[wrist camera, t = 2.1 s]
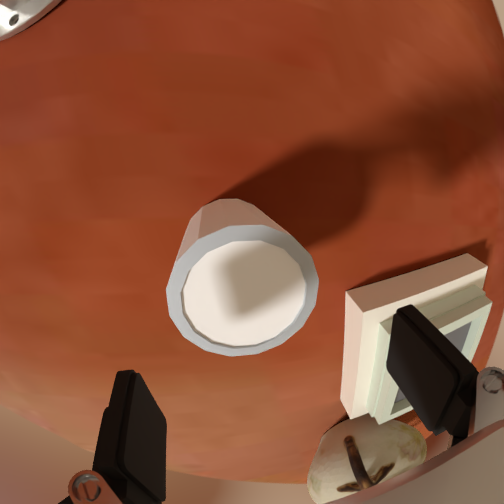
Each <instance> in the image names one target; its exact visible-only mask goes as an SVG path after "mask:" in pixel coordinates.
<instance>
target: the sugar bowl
mask: <svg viewBox="0 0 504 504" xmlns="http://www.w3.org/2000/svg"><path fill="white" fill-rule="evenodd" d="M426 453H427V446H426V442H425V440H424V437H423V436H422V434H421V433H420V432H419V431H418V430H417V429H415V428H414V427H412V426H410V425H408V424H406V423H403V422H400V421H397V420H393V419H391V420H389V421H387V422H384V423H382V424H380V425H379V424H378V422H377V420H376V419H375V417H371V415H370V414H369V413H367V414H364V415H362V416H359V417H356V418H354V419H350V418H349V419H347V420H345V421H343V422H341V423H339V424H337V425H336V426H334V427H332V428H331V429H329V430H328V431H327V432H326V433H325V434H324V435H323V436H322V438H321V440H320V444H319V447H318V450H317V452H316V454H315V456H314V459H313V461H312V464H311V466H310V469H309V473H308V478H307V488H308V491H309V494H310V496H311V497H312V499H313V500H314V501H315V502H316V503H317V504H324V503H327V502H330V501H334V500H337V499H340V498H343V497H346V496H348V495H351V494H354V493H357V492H359V491H362V490H365V489H367V488H370V487H372V486H375V485H377V484H380V483H382V482H384V481H387V480H389V479H391V478H393V477H396V476H398V475H400V474H402V473H404V472H406V471H408V470H410V469H412V468H414V467H416V466H418V465H420V464H422V463H424V461H425V458H426Z"/></svg>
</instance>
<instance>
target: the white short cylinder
mask: <svg viewBox="0 0 504 504" xmlns="http://www.w3.org/2000/svg"><path fill="white" fill-rule="evenodd" d="M318 284H319V279H318V275H317V272H316V269H315V266H314V262H313V259H312V256H311V255H310V254H309V253H308V252H307V251H306V250H305V249H304V248H303V246H302V245H301V244H300V243H299V242H298V241H297V240H296V239H295V238H294V237H293V236H292V235H291V234H289V233H288V232H287V231H286V230H284V229H283V228H282V227H281V226H279V225H278V224H277V223H276V222H274V221H273V220H272V219H271V218H269V217H268V216H267V215H266V214H264V213H263V212H262V211H261V210H259V209H258V208H257V207H256V206H254V205H253V204H250V203H247V202H245V201H242V200H240V199H218V200H216V201H214V202H212V203H209V204H207V205H205V206H203V207H202V208H201V209H200V210H199V211H198V212H197V213H196V214H195V215H194V216H193V217H192V218H191V219H190V222H189V224H188V227H187V230H186V232H185V235H184V238H183V241H182V243H181V246H180V249H179V252H178V255H177V258H176V261H175V264H174V267H173V270H172V273H171V276H170V279H169V282H168V285H167V288H166V293H167V301H168V308H169V316H170V317H171V319H172V320H173V322H174V323H175V325H176V326H177V328H178V329H179V331H180V332H181V334H182V335H183V337H185V338H186V339H188V340H189V341H191V342H192V343H194V344H196V345H197V346H199V347H200V348H202V349H203V350H205V351H209V352H213V353H218V354H222V355H227V356H241V355H251V354H258V353H261V352H263V351H266V350H268V349H271V348H273V347H276V346H278V345H280V344H282V343H284V342H285V341H286V340H287V339H288V338H290V337H291V336H292V335H293V334H294V333H296V332H297V331H298V330H299V329H300V328H302V326H303V325H304V323H305V321H306V320H307V318H308V316H309V315H310V313H311V311H312V310H313V308H314V306H315V304H316V297H317V290H318Z"/></svg>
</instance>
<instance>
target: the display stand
mask: <svg viewBox="0 0 504 504" xmlns="http://www.w3.org/2000/svg"><path fill="white" fill-rule="evenodd" d="M487 267H488V266H487V265H485V264H484V263H482V262H481V261H479V260H478V259H476V258H475V257H473V256H471V255H470V254H468V253H466V254H463V255H460V256H457V257H454V258H451V259H449V260H446V261H443V262H440V263H437V264H434V265H431V266H428V267H425V268H421V269H418V270H415V271H412V272H409V273H406V274H402V275H399V276H396V277H393V278H389V279H386V280H383V281H379V282H376V283H373V284H369V285H366V286H362V287H359V288H355V289H352V290H348V291H346V298H345V334H344V355H343V371H342V384H341V396H340V399H341V401H342V403H343V405H344V407H345V409H346V411H347V413H348V415H349V417H350V419H354V418H356V417H359V416H362V415H364V414H367V413H369V414H370V415H371V417H375V419H376V420H377V422H378V424H379V425H380V424H382V423H384V422H387V421H389V420H391V419H393V418H396V417H398V416H400V415H402V414H404V413H406V412H408V411H410V410H413V407H412V406H411V404H410V403H409V402H408V400H407V399H406V397H405V396H404V394H403V393H402V391H401V390H400V388H399V387H398V386H397V384H396V383H395V381H394V380H393V378H392V377H391V375H390V374H389V373H388V371H387V368H386V361H387V355H388V349H389V342H390V335H391V328H392V320H393V315H394V314H395V313H396V310H397V309H398V308H401V307H404V306H406V305H409V304H412V305H413V306H415V307H416V308H417V309H418V310H419V311H420V312H421V313H422V314H423V315H424V316H425V317H426V318H427V319H428V320H429V321H430V322H431V323H432V324H433V325H434V326H435V327H436V328H437V329H438V330H439V331H440V332H441V333H442V334H443V335H444V336H445V337H446V338H447V339H448V340H449V341H450V342H451V343H452V344H453V345H454V346H455V347H456V348H457V349H458V350H459V351H460V352H461V353H462V354H463V355H464V356H465V357H466V358H467V359H468V360H469V361H470V362H471V361H472V358H473V356H474V353H475V351H476V348H477V346H478V343H479V341H480V338H481V335H482V332H483V330H484V327H485V324H486V321H487V318H488V315H489V312H490V308H491V305H492V301H491V300H490V299H488V298H487V297H486V296H485V293H486V292H484V291H483V290H482V289H483V285H484V281H485V276H486V272H487Z"/></svg>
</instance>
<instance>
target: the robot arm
mask: <svg viewBox="0 0 504 504" xmlns="http://www.w3.org/2000/svg"><path fill="white" fill-rule="evenodd" d="M60 1H61V0H0V41H1V40H4V39H7V38H10V37H12V36H13V35H15V34H17V33H19V32H21V31H23V30H25V29H26V28H28V27H29V26H30V25H32V24H33V23H35V22H36V21H38V20H39V19H41V18H42V17H43V16H44V15H45V14H47V13H48V12H49V11H50V10H52V9H53V8H54V7H55V6H56V5H57V4H58V3H59V2H60ZM386 368H387V371H388V373H389V374H390V375H391V377H392V378H393V380H394V381H395V383H396V384H397V386H398V387H399V388H400V390H401V391H402V393H403V394H404V396H405V397H406V399H407V400H408V402H409V403H410V404H411V406H412V407H413V409H414V410H415V412H416V413H417V415H418V416H419V418H420V419H421V421H422V422H423V424H424V425H425V427H426V428H427V430H429V431H433V433H434V434H435V435H436V436H437V435H438V434H440V433H442V432H444V431H445V430H447V431H448V433H449V434H450V436H449V442H448V447H447V450H446V451H444V452H442V453H441V454H439V455H437V456H435V457H434V458H432V459H430V460H428V461H426V462H424V463H422V464H420V465H418V466H416V467H414V468H412V469H410V470H408V471H406V472H404V473H402V474H400V475H398V476H396V477H393V478H391V479H389V480H387V481H384V482H382V483H380V484H377V485H375V486H372V487H370V488H367V489H365V490H362V491H359V492H357V493H354V494H351V495H348V496H346V497H343V498H340V499H337V500H334V501H330V502H327V503H324V504H504V370H502V369H500V368H497V367H487V368H484V369H483V370H482V371H480V373H479V372H478V371H477V370H476V368H475V367H474V365H473V364H472V363H471V362H470V361H469V360H468V359H467V358H466V357H465V356H464V355H463V354H462V353H461V352H460V351H459V350H458V349H457V348H456V347H455V346H454V345H453V344H452V343H451V342H450V341H449V340H448V339H447V338H446V337H445V336H444V335H443V334H442V333H441V332H440V331H439V330H438V329H437V328H436V327H435V326H434V325H433V324H432V323H431V322H430V321H429V320H428V319H427V318H426V317H425V316H424V315H423V314H422V313H421V312H420V311H419V310H418V309H417V308H416V307H415V306H413V305H412V304H409V305H406V306H404V307H401V308H398V309H397V310H396V313H395V314H394V315H393V320H392V328H391V335H390V342H389V349H388V355H387V361H386ZM166 433H167V423H166V419H165V417H164V415H163V413H162V412H161V410H160V408H159V407H158V405H157V403H156V401H155V400H154V398H153V396H152V394H151V393H150V391H149V389H148V387H147V386H146V384H145V382H144V380H143V378H142V376H141V375H140V374H139V373H135V371H134V370H125V371H118V372H117V374H116V378H115V382H114V386H113V390H112V394H111V398H110V402H109V407H107V408H106V409H105V410H104V413H103V417H102V422H101V426H100V431H99V436H98V441H97V446H96V451H95V456H94V462H93V468H92V471H91V470H84V471H80V472H78V473H77V474H75V475H74V476H73V477H72V479H71V480H70V482H69V485H68V493H69V496H68V497H67V498H65V499H64V500H63V501H61V502H60V503H58V504H162V502H163V501H165V499H166Z"/></svg>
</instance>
